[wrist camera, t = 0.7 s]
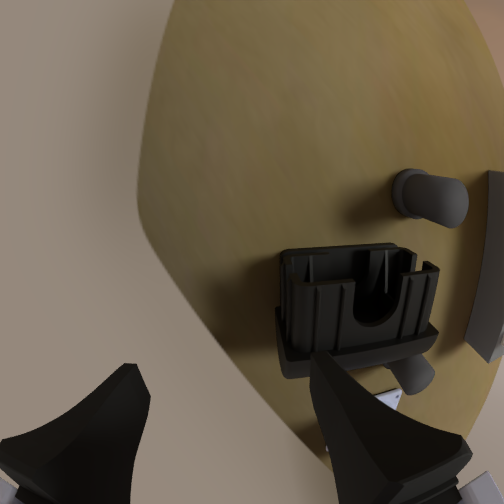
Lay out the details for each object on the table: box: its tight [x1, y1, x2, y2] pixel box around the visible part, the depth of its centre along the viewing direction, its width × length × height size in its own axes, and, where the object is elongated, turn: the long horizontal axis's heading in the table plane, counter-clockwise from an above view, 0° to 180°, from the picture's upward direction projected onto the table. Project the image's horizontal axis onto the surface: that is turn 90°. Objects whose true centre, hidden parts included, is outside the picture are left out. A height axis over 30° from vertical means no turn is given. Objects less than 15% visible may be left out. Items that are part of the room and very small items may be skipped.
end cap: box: [275, 243, 440, 379], centre depth 17 cm, size 10×7×7 cm
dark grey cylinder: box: [383, 354, 435, 395], centre depth 20 cm, size 4×4×5 cm
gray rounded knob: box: [392, 169, 469, 228], centre depth 15 cm, size 4×4×5 cm
